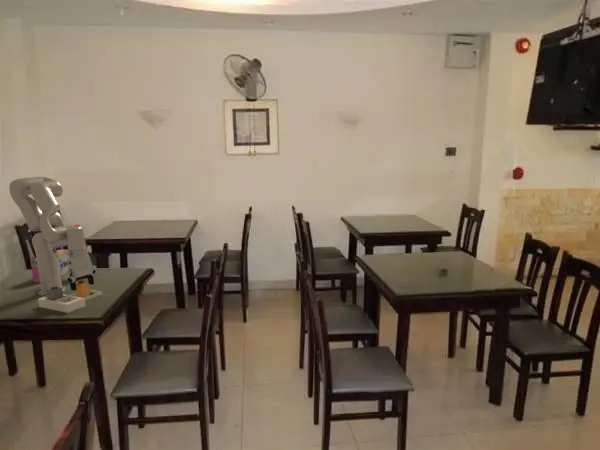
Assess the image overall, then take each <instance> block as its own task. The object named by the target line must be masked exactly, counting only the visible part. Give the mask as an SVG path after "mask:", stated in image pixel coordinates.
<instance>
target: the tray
mask: <svg viewBox="0 0 600 450" xmlns="http://www.w3.org/2000/svg"><path fill="white" fill-rule="evenodd" d="M89 292H90V294H92V295H90V296H88V297H85V302H86V301H89V300H92V299H95V298H98V297H100V296H102V295H103V291H100V290H95V289H94V290H93V289H89ZM69 295H70V296H76V295H75V292H74V293H71V294H69Z"/></svg>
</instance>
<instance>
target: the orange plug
mask: <svg viewBox="0 0 600 450" xmlns="http://www.w3.org/2000/svg"><path fill="white" fill-rule="evenodd" d="M89 285H90V284H89V283H88V281H85V280H82V279H80V280H78V281H77V282H76V288H77V290H76V291H74V293H75V295H76V297H81V298H85V297H88V296H91V295H90V294H91V293H90V292H89V290H90V286H89Z"/></svg>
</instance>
